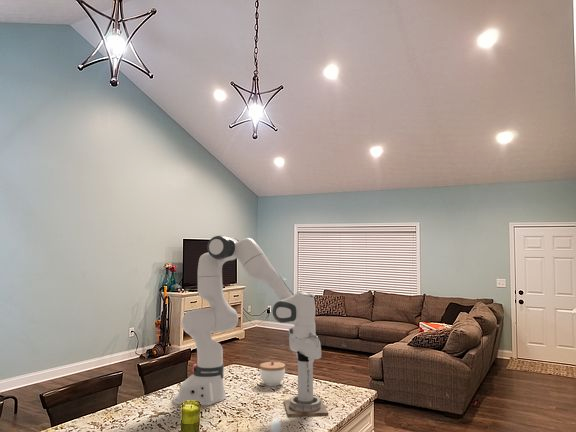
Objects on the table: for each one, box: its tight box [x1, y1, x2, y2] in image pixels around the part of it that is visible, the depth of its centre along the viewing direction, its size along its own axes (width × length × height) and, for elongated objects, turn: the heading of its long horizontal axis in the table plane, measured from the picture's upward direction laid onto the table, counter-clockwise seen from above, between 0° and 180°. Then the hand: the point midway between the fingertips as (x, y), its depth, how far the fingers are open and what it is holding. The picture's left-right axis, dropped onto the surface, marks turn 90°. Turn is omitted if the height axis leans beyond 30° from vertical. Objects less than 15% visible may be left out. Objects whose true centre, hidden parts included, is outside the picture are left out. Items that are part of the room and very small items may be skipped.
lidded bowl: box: [259, 360, 286, 387], centre depth 209 cm, size 13×13×11 cm
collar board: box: [283, 394, 329, 418], centre depth 175 cm, size 16×16×4 cm
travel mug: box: [297, 351, 314, 404], centre depth 176 cm, size 6×7×20 cm
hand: (305, 365), depth 176 cm, fingers closed on travel mug, 6 cm apart
